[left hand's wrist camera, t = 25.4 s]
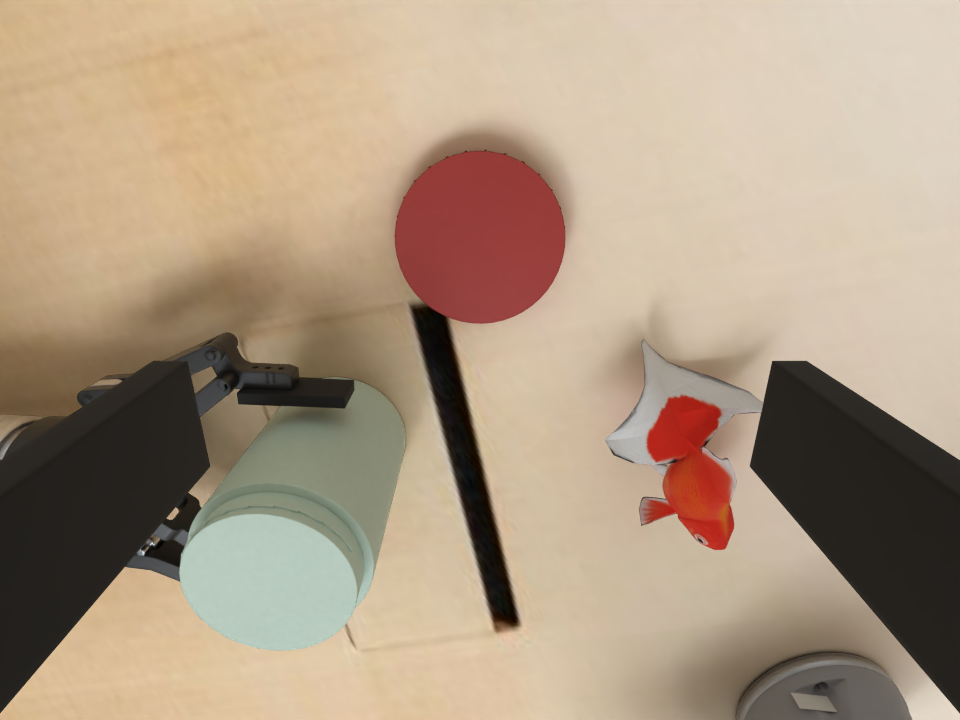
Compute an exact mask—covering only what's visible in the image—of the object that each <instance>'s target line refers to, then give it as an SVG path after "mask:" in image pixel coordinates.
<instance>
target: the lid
mask: <svg viewBox="0 0 960 720" xmlns="http://www.w3.org/2000/svg"><path fill="white" fill-rule="evenodd" d="M524 163H525V162H523V161H521V162H520V161H518V160H516V159H514V158H512V157H509V156H506V154H505V153H504V155H503V154H500V153H494V152H489V151H487V150H485V151H473V152H467V151H465V153H461V154H457V155H453V156H451V157H448V156H447V157H446V159H443V160H442V161H440V162H438V163H436V164H435V165H433V166H430V167H428V168H429V169H428V170H427V171H425V172H424V173H423V174H422V175H421V176H420V177H419V178H418V179H417V180H415V181H414V182H415V183H414V184H413V185H412V187H411V188H410V189H409V191H408V193H407V194H406V196H405V197H404V198H403V199H404V200H403V202H402V205H401V207H400V210H399V213H398V215H397V221H396V229H395V246H396V253H397V258H398V261H399V265H400V268H401V270H402V272H403V275H404V277H405V279H406V280H407V282H408V284H409V285H410V287H411V288H412V289H413V291H414V292H415V293H416V295H417V296H418V297H419V298H420V299H421V300H422V301H423V302H424V303H426V304H427V305H428V306H430V307H431V308H432V309H434V310H435V311H437V312H439V313H440V314H442V315H445V316H447V317H449V318H451V319H455V320H458V321H462V322H468V323H493V322H498V321H502V320H505V319H508V318H511V317H514V316H516V315H518V314H520V313H522V312H523V311H525V310H526V309H528V308H529V307H531V306H532V305H533V304H534V303H536V302H537V301H538V300H539V299H540V298H541V297H542V296H543V295H544V293H545V292H546V291H547V290H548V288H549V287H550V285H551V284H552V283H553V281H554V279H555V277H556V275H557V273H558V271H559V268H560V265H561V262H562V258H563V254H564V247H565V226H564V221H563V216H562V213H561V210H560V209H561V207H560V206H559V204H558V202H557V200H556V198H555V195H554V194H553V192H552V191H553V190H552V189H550V188H549V186H548V185H547V184H546V182H545V181H544V180H543V179H542V178H541V177H540V174H538V173H536V172H535V171H534V170H533V169H531V168H530V167H528V166H527V165H525V164H524Z"/></svg>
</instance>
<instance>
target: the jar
mask: <svg viewBox="0 0 960 720" xmlns="http://www.w3.org/2000/svg"><path fill="white" fill-rule="evenodd" d="M323 379H346V380H354V379H349V378H341V377H329V378H323ZM405 446H406V433H405V427H404V424H403V421H402V419H401V416H400V414H399V413H398V411H397V409H396V408H395V406H394V405H393V404H392V403H391V401H390V400H389V399H388V398H387V397H386V396H385V395H383V394H382V393H381V392H379V391H378V390H376V389H375V388H373V387H371V386H370V385H367V384H365V383H363V382H360V381H357V380H354V392H353V394H352V396H351V398H350V400H349V402H348V404H347V406H346V408H345V409H342V408H318V407H294V406H280V408H279V409H278V410H277V412H276V413H275V414H274V415H273V417H272V418H271V419H270V421H269V422H268V423H267V424H266V426H265V427H264V428H263V430H262V431H261V432H260V434H259V435H258V436H257V437H256V439H255V440H254V441H253V443H252V444H251V445H250V446H249V448H248V449H247V450H246V452H245V453H244V454H243V455H242V457H241V458H240V459H239V461H238V462H237V463H236V464H235V466H234V467H233V468H232V470H231V471H230V472H229V474H228V475H227V476H226V477H225V479H224V480H223V481H222V483H221V484H220V485H219V486H218V488H217V489H216V490H215V492H214V493H213V494H212V495H211V497H210V498H209V499H208V501H207V502H206V503H205V504H204V506H203V507H202V508H201V510H200V511H199V512H198V514H197V515H196V517H195V519H194V520H193V522H192V525H191V527H190V530H189V534H188V540H187V543H186V545H185V547H184V550H183V552H182V553H181V563H180V571H179V574H180V582H181V587H182V590H183V593H184V595H185V597H186V599H187V601H188V603H189V605H190V606H191V607H192V609H193V610H194V612H195V613H196V614H197V615H198V616H199V617H200V618H201V619H202V620H203V621H204V622H205V623H206V624H207V625H208V626H210V627H211V628H212V629H214V630H215V631H217V632H218V633H220V634H222V635H223V636H225V637H226V638H228V639H231V640H234V641H236V642H238V643H241V644H244V645H247V646H251V647H255V648H260V649H266V650H279V651H281V650H295V649H302V648H306V647H310V646H313V645H316V644H318V643H321V642H323V641H325V640H327V639H329V638H330V637H332V636H333V635H334V634H336V633H337V632H338V631H339V630H340V629H341V628H343V627H344V625H345V624H346V623H347V622H348V620H349V619H350V617H351V615H352V613H353V611H354V609H355V608H356V607H357V606H358V605H359V604H360V602H361V601H362V600H363V599H364V597H365V596H366V594H367V592H368V590H369V588H370V586H371V583H372V580H373V576H374V572H375V568H376V564H377V560H378V556H379V552H380V548H381V544H382V540H383V536H384V532H385V528H386V524H387V520H388V516H389V512H390V508H391V504H392V500H393V496H394V492H395V488H396V484H397V480H398V476H399V472H400V468H401V464H402V460H403V456H404V452H405Z"/></svg>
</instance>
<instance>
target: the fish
mask: <svg viewBox="0 0 960 720" xmlns="http://www.w3.org/2000/svg"><path fill="white" fill-rule="evenodd" d="M641 345H642V351H643V356H644V371H645V387H644V390H643V392H642V395H641V397H640V400H639V402H638V404H637V405H636V406H635V408H634V409H633V411H632V412H631V414H630V415H629V417H628V418H627V419H626V420H625V421H624V422H623V423H622V424H621V425H620V426H619V427H618V428H617V429H616V430H615V431H614V432H613V433H612V434H611V435H610V436H609V437H607V438H606V439H605V441H606V443H607V445H608V446H609V448H610V450H611V451H612V453H613V455H615V456H617V457H620V458H622V459H625V460H627V461H630V462H632V463H638V464H652V466H653V468H654V469H656V470H657V471H658V472H659V473H661V474H662V475H663V476H664V479H663V492H664V495H665V497H666V499H662V498H654V497H643V498H642V500H641V503H640V508H639V512H640V519H641V526H642V525H646V524H649V523H651V522H653V521H655V520H658V519H661V518H663V517H666V516H670V515H673V514H678V519H679V520H680V521H681V522H682V523H683V525H684V526H685V527H686V528H687V529H688V531H689V532H690V533H691V535H692V536H693V537H694V538H695V539H696V540H697V541H698V542H699V543H701V544H703V545H705V546H707V547H709V548H712V549H714V550H723V549H725V548H726V546H727V544H728V541H729V539H730V536H731V534H732V532H733V529H734V520H733V514H732V509H731V506H730V505H729V504H730V502H731V499H732V497H733V494H734V490H735V486H736V483H737V481H736V477H735V472H734V470H733V468H732V466H731V464H730V462H729V460H728V459H727V458H725V459H720V458H718V457H716V456H715V455H714V454H713V453H711V452H710V451H709V450H708V449H707V448H705V447H704V446H706V444H707V443H708V442H709V440H710V439H711V437H712V436H713V435H714V433H715V432H716V431H717V429H718V428H720V427H721V426H722V425H724V424H725V423H726V422H727V421H728V420H729V419H730V418H732V417H733V416H734V415H735V414H743V413H758V412H762V407H763V402H761V401H760V400H759V399H757V398H756V397H755V396H754V395H752V394H751V393H750V392H748V391H746V390H743V389H741V388H738V387H736V386H733V385H731V384H729V383H726V382H724V381H721V380H719V379H716V378H714V377H711V376H708V375H704V374H701V373H698V372H695V371H692V370H688V369H686V368H683V367H680V366H677V365H674V364H672V363H669V362H667V361H666V360H665V359H664V358H662V357H661V356H660V355H659V354H658V353H657V352H655V351H654V350H653V349H652V348H651V347H650V346H649V345H648V344H647V342H646V341H645V340H644V339H643V340H642V342H641ZM700 448H702V449H700ZM665 463H672V464H671V465H670V466H669V467H668V466H667V465H663V464H665Z"/></svg>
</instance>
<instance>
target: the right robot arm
mask: <svg viewBox="0 0 960 720" xmlns="http://www.w3.org/2000/svg"><path fill="white" fill-rule="evenodd" d="M237 346H238V340H237V338H236V337H235V336H234V335H233V334H231V333H223V334H221V335H218V336H216V337H214V338H212V339H210V340H207V341H205V342H203V343H201V344H199V345H196V346H194V347H192V348H190V349H188V350H185V351H183V352H181V353H179V354H177V355H174V356H172V357H170V358H168V359H166V360H163V361H188V365H189V370H190V375H192V374H194V373H197V372H199V371H201V370H203V369H206V368H208V367H210V366H212V367H213V369H214V371H215V373H216V375H217V377H215V378H214V379H213V380H212V381H211V382H209V383H208V384H207V385H206V386H204V387H203V388H202V389H201V390H200V391H198V392H197V393H196V394H195V398H196V403H197V407H198V412H199V417H201V416H202V415H203V414H204V413H205V412H207V411H208V410H209V409H210V408H212V407H213V406H214V405H215V404H217V403H218V402H219V401H220V400H222V399H223V398H224V397H225V396H227V395H229V394H230V393H231V392H232V391H233V390H234V389H240V390H239V391H238V392H237V397H238V404H247V405H271V406H294V407H318V408H342V409H345V408H346V406H347V404H348V402H349V400H350V398H351V396H352V394H353V392H354V380H346V379H323V378H300V377H299V371H298V367H295V366H293V365H290V364H267V363H251V362H248V361H246V360H245V359H244V358H242V356H241V355H240V353H239V351H238V349H237ZM131 375H133V374H121V375H108V376H105V377H104V378H102V379H100V380H99V381H97V382H96V383H94V384H92V385H91V386H89V387H87V388H86V389H84V390H82V391H81V392H80V393H78V396H77V399H78V402H79V403H80V404H81V405H82V406H85V405H86V404H88V403H89V402H91V401H93V400H94V399H96V398H97V397H99V396H100V395H102V394H103V393H105V392H106V391H108V390H109V389H111V388H113V387H114V386H116V385H117V384H119V383H120V382H122V381H123V380H125V379H126V378H128V377H130V376H131ZM65 418H66V417H62V416H50V417H43V416H27V415H4V414H0V460H2V459H3V458H5V457H6V456H8V455H9V454H11V453H12V452H14V451H15V450H17V449H18V448H20V447H22V446H23V445H25V444H26V443H28V442H29V441H31V440H32V439H34V438H35V437H37V436H39V435H40V434H42V433H43V432H45V431H46V430H48V429H49V428H51V427H52V426H54V425H55V424H57V423H59V422H60V421H62V420H63V419H65ZM176 508H178V510H179V513H178V514H177V515H176V516H175V518H174V519H173V520H168V519H165V520H164V521H163V522H162V524H161V525H160V526H159V527H158V528H157V530H156V531H155V532H154V533H153V534H152V535H151V537H150V538H149V539H148V540H147V541H146V542H145V544H144V545H143V546H142V547H141V548H140V550H139V551H138V552H137V553H136V554H135V555H134V557H133V558H132V559H131V560H130V561H129V562H128V564H127V565H126V566H125V567H129V568H138V569H146V570H152V571H155V572H157V573H160V574H162V575H165V576H167V577H170V578H172V579H175V580H178V581H180V574H179V571H180V563H181V553H182V552H183V550H184V547H185V545H186V543H187V540H188V534H189V530H190V527H191V525H192V522H193V520H194V519H195V517H196V515H197V514H198V512H199V511H200V510H201V507H200V504H199V500H198V499H197V498H195V497H194V496H192V495H191V494H189V493H187V494H186V495H185V497H184V498H183V499H182V500H181V501H180V502H179V504H178V505H177V506H176Z"/></svg>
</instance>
